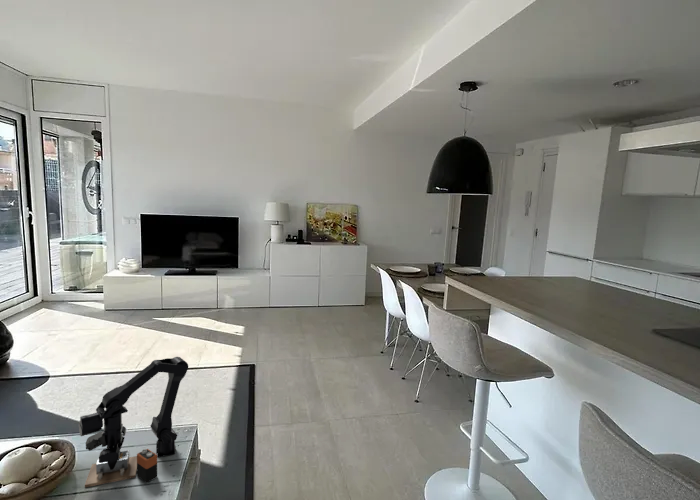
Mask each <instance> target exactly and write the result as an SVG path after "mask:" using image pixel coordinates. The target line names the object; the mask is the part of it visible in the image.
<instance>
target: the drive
mask: <svg viewBox="0 0 700 500" xmlns="http://www.w3.org/2000/svg"><path fill="white" fill-rule="evenodd" d="M129 457H130V450H129V449H128V450H124V451H121V453H120V456H119V459H118V460H117V463H116V465H115V467H114V469H112V470H110V467H109V465H108V463H107V462H103V463H99V457H98V458H97V461H96V463H97V464H96V463H95V464H96V475H98V473H99V472H102V474H103V473H108V472H113V471H118V470H120V469H121V468H124V469H128V464H129Z"/></svg>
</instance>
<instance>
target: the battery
mask: <svg viewBox="0 0 700 500" xmlns="http://www.w3.org/2000/svg"><path fill="white" fill-rule="evenodd" d="M136 456H137V471H136V476H137V477H138V478H139V479H141V480H142V481H143V482H144V483H146V484H147V483H149V482H151V481H152V480H155V479H156V478H158V457H157V453H156V452H155V453H154V451H152V450H151V449H149V448H145V449H142V450H141V451H140V452H138V453H137V454H136Z"/></svg>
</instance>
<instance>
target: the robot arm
mask: <svg viewBox="0 0 700 500" xmlns="http://www.w3.org/2000/svg"><path fill="white" fill-rule="evenodd" d="M188 369H189V364H188V362H187V361H185V360H184V358H182V357H181V356H174V357H173V358H171V357H170V358H169V357H167V358H162V359H154V360H152V361H151V362H150V363H149V364H148V365H147V366H146V367H144V368H143V369H142V370H140V371H139V372H138V373H136V375H134V376H133V377H132V378H130V379H129V380H128V381H126V382H125V383H124V384H122V385H120V386H116V387H114V388H113V389H110V390H109V391H107V392H106V393H105V394H104V395H103V396H102V398H101V399H102V400H101V402H100V404H99V405H98V406H97V407H96V409H95V411H96V412H94V413H90V414H86V415H81V416H80V417H79V419H80V420H79V422H78V431H79V436H80V437H83V436H84V437H85V436H88V435H91V434H92V435H91V436H89V437H87V439H86V441H85V443H84V444H85V450H88V451H89V452H90V451H93V450H95V449H97V448H99V447H100V446H101V448H103V449H102V450H101V451H100V453H99V455H98V458H99V463H103V462H107V463H108V465H109V467H110V470H112V469H114V467H115V465H116V463H117V460H118V459H119V456H120V453H121V452H122V451H121V449H122V446H123V444H124V441H125V439H126V438H125V436H126V435H127V434H126V433H127V428H126V426H123V425H124V424H123V423H122V419H123V417H122V416H123V415H122V414H126V413H128V411H129V410H128V409H127V407H126V406H124V405H125V404H126V403H127V402H128V400H129V399H130V397H131V396H132V395H133V393H135V392H136V391H137V390H139V389H140V388H141V387H143V385H145V384H146V383H147V382H149V381H150V380H151V379H152V378H154V377H155V376H156V375H157V374H158V373H159V374H160V373H166V374H167V375H168V381H167V385H166V387H165V392H164V394H163V395H164V396H163V399H162V402H161V407H160V411H159V413H158V414H157V416H153V417H152V419H151V420H152V421H151V424H150V425H149V426H150V428H151V432H152V433H153V434H154V435H155V437H156V438H157V440H156V444H155V445H156V448H155V454H156V455H157V458H162V457H168V456H172V455H175V454H176V443H175V442H176V440H177V438H178V434H177V433H176V432H175V430H174V429H173V421H172V415H173V412H174V411H173V410H174V407H175V403H176V399H177V395H178V391H179V388H180V384H181V382H182V380H183V379H184V377H185V376H186V374H187V372H188ZM102 428H103V431H101V430H102ZM96 432H97V433H96ZM94 433H95V434H94ZM105 447H106V448H105Z"/></svg>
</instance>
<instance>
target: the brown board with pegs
mask: <svg viewBox="0 0 700 500" xmlns="http://www.w3.org/2000/svg"><path fill="white" fill-rule="evenodd" d="M96 464H97V462H96V463H92V464H91V466H90V469H89V472H88V474H87V477H86V480H85V483H84V488H88V487H94V486H98V485H104V484H109V483H110V484H111V483H114V482H115V483H116V482H118V481H119V482H120V481H125V480H130V479H133V478H134V479H135V478H136V476H137V455H135V456H129V464H128V469H124V468H121V469H120V470H118V471H113V472H108V473H103V474H102V472H99V473H98V475H96Z"/></svg>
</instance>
